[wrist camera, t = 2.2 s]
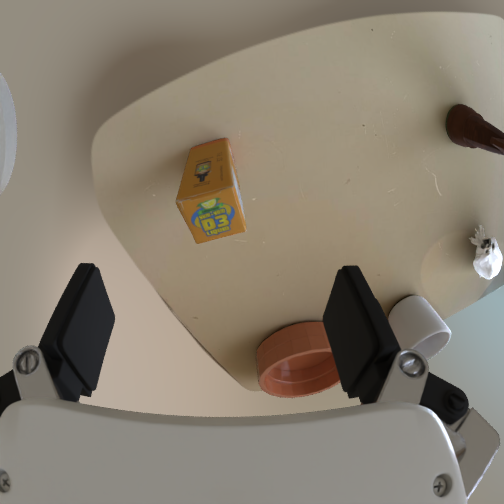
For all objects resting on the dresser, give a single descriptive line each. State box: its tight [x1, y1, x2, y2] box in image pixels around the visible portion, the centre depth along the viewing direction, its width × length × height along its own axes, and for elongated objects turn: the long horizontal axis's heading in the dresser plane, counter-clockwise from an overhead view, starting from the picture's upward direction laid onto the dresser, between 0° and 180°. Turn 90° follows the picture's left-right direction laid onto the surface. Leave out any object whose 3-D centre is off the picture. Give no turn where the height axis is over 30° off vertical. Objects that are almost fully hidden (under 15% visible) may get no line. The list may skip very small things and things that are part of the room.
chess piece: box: [446, 104, 504, 155], centre depth 18 cm, size 5×5×10 cm
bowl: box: [256, 322, 340, 398], centre depth 39 cm, size 13×13×5 cm
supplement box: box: [176, 138, 246, 244], centre depth 19 cm, size 3×3×10 cm
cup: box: [389, 295, 451, 360], centre depth 36 cm, size 11×8×8 cm
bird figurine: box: [468, 224, 502, 279], centre depth 31 cm, size 5×7×10 cm
